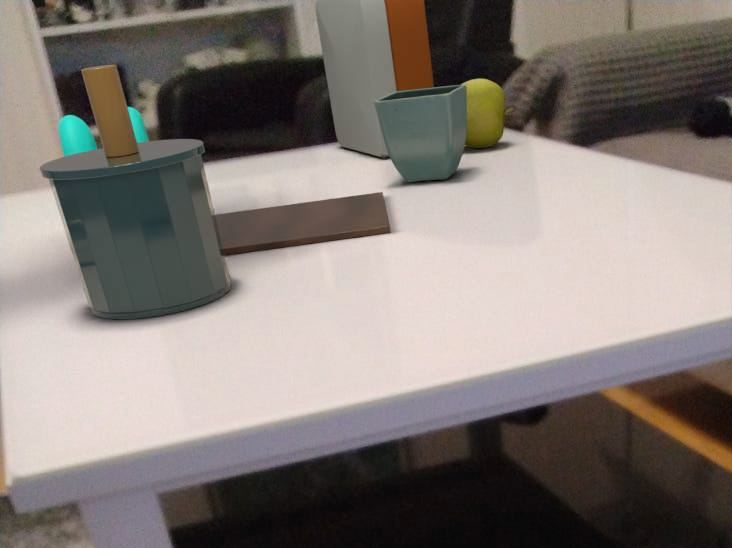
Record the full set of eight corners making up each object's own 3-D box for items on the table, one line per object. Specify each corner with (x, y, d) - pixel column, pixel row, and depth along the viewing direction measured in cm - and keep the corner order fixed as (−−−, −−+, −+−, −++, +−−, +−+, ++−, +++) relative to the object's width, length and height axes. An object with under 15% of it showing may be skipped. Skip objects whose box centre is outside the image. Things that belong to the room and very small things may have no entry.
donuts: (84, 197, 134) (59, 113, 129) (161, 185, 136) (139, 101, 130) (79, 210, 126) (51, 121, 121) (160, 197, 128) (137, 109, 122)
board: (181, 261, 97) (179, 254, 96) (202, 222, 112) (200, 216, 111) (390, 232, 97) (389, 225, 97) (383, 197, 112) (382, 191, 112)
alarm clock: (443, 148, 137) (422, -35, 125) (382, 160, 134) (355, -26, 122) (392, 137, 151) (369, -29, 139) (336, 147, 148) (308, -21, 137)
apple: (517, 148, 130) (511, 77, 126) (446, 156, 131) (438, 86, 126) (515, 139, 137) (510, 71, 132) (448, 147, 137) (440, 80, 133)
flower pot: (405, 173, 124) (394, 90, 119) (475, 167, 122) (467, 83, 117) (385, 188, 117) (372, 100, 112) (459, 183, 115) (450, 93, 110)
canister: (78, 327, 81) (32, 185, 75) (105, 289, 90) (66, 160, 85) (224, 306, 81) (189, 164, 75) (236, 271, 91) (206, 142, 85)
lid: (26, 196, 75) (-10, 85, 71) (64, 168, 85) (34, 71, 81) (197, 173, 75) (171, 62, 71) (214, 148, 86) (192, 50, 82)
